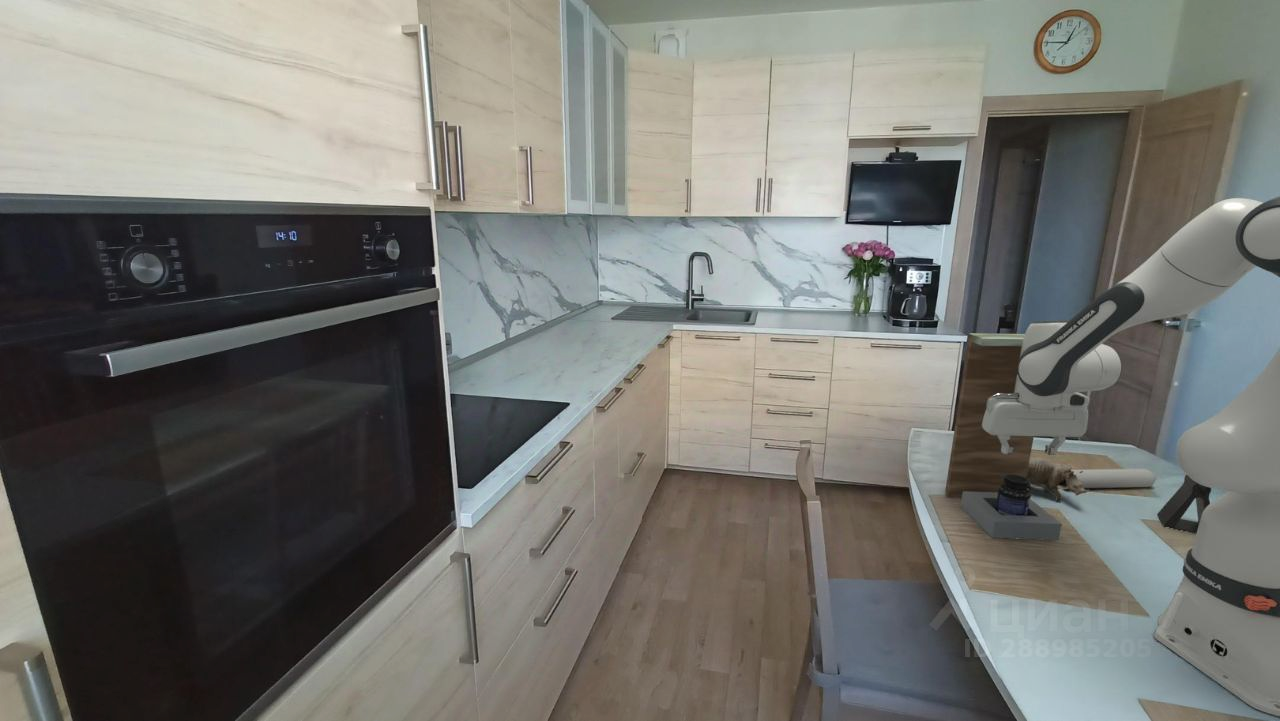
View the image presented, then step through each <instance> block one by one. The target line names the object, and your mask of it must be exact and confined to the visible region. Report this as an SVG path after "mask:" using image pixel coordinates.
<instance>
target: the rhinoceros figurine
mask: <svg viewBox="0 0 1280 721" xmlns="http://www.w3.org/2000/svg"><path fill="white" fill-rule="evenodd" d="M1071 470H1073V469H1072V466H1071V465H1069V464H1064V463H1063V464H1061V463H1054V462H1052V461H1048V460H1046V459H1044V458H1041V457H1031V456H1030V460H1029V465H1028V470H1027V476H1026V478H1027V479H1028V480H1029V486H1028V487H1027V489H1028V490H1029V489H1033V487H1032V486H1035V487H1039V488H1041V489H1042V490H1044V491H1045V492H1047V493H1050V494H1053V495H1054V496H1055V497H1056V500H1055V503H1059V504H1061V503H1062V501H1061V499H1062V494H1061V492H1060V491H1059V487H1057V486H1059V485H1064V486H1068V488H1069V489H1068V490H1069V492H1071V493H1074V494H1075V496H1079V495H1082V494H1086V493H1088V492H1090V488H1087V489H1086V488H1084V487H1083V484H1081V483H1080V482H1079V480H1078V478H1077V476H1076V475H1075V474H1073V473H1074V471H1071ZM1082 472H1083V471H1080V472H1079V473H1082ZM1060 501H1061V502H1060Z"/></svg>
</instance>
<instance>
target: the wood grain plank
mask: <svg viewBox="0 0 1280 721" xmlns="http://www.w3.org/2000/svg"><path fill="white" fill-rule="evenodd" d="M1024 336H1025V333H976V332H974V333H971V332H969V333H968V339H967V344H966V352H965V356H964V358H965V359H964V365H963V371H962V377H961V386H960V391H959V397H958V403H957V404H958V405H957V411H956V418H955V425H954V429H953V430H954V431H953V436H952V444H951V451H950V458H949V464H948V471H947V477H946V485H945V491H944V495H945V497H947V498H953V499H954V498H957V499H962V494H963V491H969V492H998V490H999V486H1000V485H1002V484H1005V482H1004V477H1005V475H1007V474H1014V475H1019V476H1022V477H1025V478H1026V476H1027V470H1028V465H1029V460H1030V457H1031V454H1032V449H1033V443H1034V438H1035V436H1010V440H1007V442H1008V444H1009V445H1010V446H1012V447H1013V450H1012V454H1004V453H1002V452H1001V447H1002V444H1001V442H1000V440H999V438H998V435H991V434H989V433H987V432H986V431H985V430H984V429H983V427H982V422H983V418H984V415H985V411H986V409H987V401H988V399H989V398H990V397H991V396H993V395H995V394H996V393H1005V394H1006V393H1014V390H1015V384H1016V378H1017V374H1018V372H1017V366H1018V362H1019V359H1020V353H1021V348H1022V343H1023V339H1024ZM993 398H996V397H993Z"/></svg>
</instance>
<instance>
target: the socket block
mask: <svg viewBox="0 0 1280 721" xmlns="http://www.w3.org/2000/svg"><path fill="white" fill-rule="evenodd" d="M997 496H998V492H969V491H963V494H962V498H961V500H960V508H962V510H963V511H964V512H965V513H966V514H967V515H968V516H969V517H970V518H972V519H973V521H974V522H975V523H976V524H977V525H979V527H980V528H981V529H982V530H983V531H984V532H985V533H986V534H987V535H988V536H989V537H990V539H1003V540H1004V538H1011V539H1010V540H1017V539H1016V538H1019V539H1018V540H1032V539H1040V540H1039V541H1041V539H1044V540H1043V541H1059V540H1060V535H1061V530H1062V525H1063V523H1061V522H1060V521H1059V520H1058V519H1056V518H1055V516H1052V515H1051V514H1050V513H1049V512H1048V511H1046V510H1045V509H1044V508H1043V507H1041V506H1040V505H1038V503H1036V502H1035V501H1034V500H1033V499H1031V498H1030V501H1029V507H1028V512H1027V516H1015V515H1001V514H1000V513H999V512H997V511H996V510H995V508H996V502H997Z"/></svg>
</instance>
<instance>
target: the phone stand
mask: <svg viewBox="0 0 1280 721" xmlns="http://www.w3.org/2000/svg"><path fill="white" fill-rule="evenodd" d="M1183 478H1184V481H1183V484H1182V485H1181V486H1180V487H1179V488H1178V489H1177V491H1176V492H1175V493H1174V494H1173V495H1172V496H1171V497H1170V499H1169V500H1168V501H1166V503H1165V504H1164V506H1163V507H1161V509H1160V510H1159V511H1158V512H1157V514H1156V515H1157V517H1158V519H1159V520H1160V523H1161V524H1162V525H1163V527H1164V528H1166V527H1169V528H1168V529H1171V528H1173V529H1172V530H1175V529H1177V531H1180V530H1183V531H1182V532H1185V531H1188V532H1187V533H1191V532H1194V533H1193V534H1195V533H1197V530H1198V526H1199V523H1200V519H1201V516H1202V513H1203V511H1204V510H1205V508H1206V507H1207V506H1208V505H1209V504H1211V502H1210V495H1211V492H1212V488H1209V487H1206V486H1203V485H1201V484H1199V483H1197V482H1195V481H1194V480H1192V479H1191V478H1190V477H1189V476H1188V475H1187V474H1185V475H1184V477H1183ZM1194 501H1195V503H1196V504H1195V506H1196V512H1197V513H1196V514H1197V521H1192V520H1189V519H1183V516H1184V515H1185V513H1186V512H1187V511H1188V509H1189V508H1190V506H1192V503H1193V502H1194Z"/></svg>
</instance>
